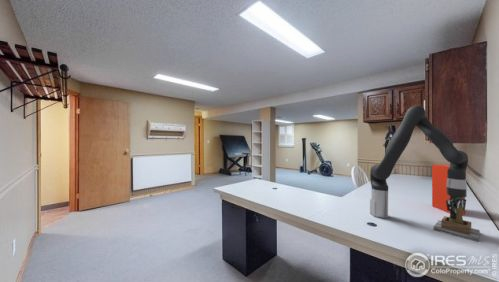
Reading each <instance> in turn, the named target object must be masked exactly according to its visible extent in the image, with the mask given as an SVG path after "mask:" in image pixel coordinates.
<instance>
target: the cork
mask: <svg viewBox="0 0 499 282" xmlns="http://www.w3.org/2000/svg"><path fill="white" fill-rule="evenodd" d="M449 209H450V207H449ZM462 212H463V208H462V207H460V206H459V207H458V209H457V211H456V219H451V218H450V216H448V217H449V222H454V223H458V224H462V225H464V223H463V220H464V219H463V215H462Z"/></svg>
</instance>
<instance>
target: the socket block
mask: <svg viewBox="0 0 499 282" xmlns="http://www.w3.org/2000/svg"><path fill="white" fill-rule="evenodd" d="M449 217H450V216H446V215H445V216H443V217H442V219H441V220H437V222H436V223H435V224H434V226H433V231H436V232H441V233H445V234H448V235H451V236H455V237H460V238H463V239H466V240H471V241H474V242H479V238H480V233H481V231H480V229H478V228H477V229H476V228H473V227H472V221H468V220H464V219H463V223H464V225H462V224H458V223H454V222H449Z"/></svg>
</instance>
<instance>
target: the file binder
mask: <svg viewBox="0 0 499 282" xmlns="http://www.w3.org/2000/svg"><path fill="white" fill-rule="evenodd" d="M449 168H450V165H446V164H432V165H431V197H432V199H431V206H432V208H435V209H438V210H440V211H443V212H445V213H448V214H450V211H448V210H447V205H446V200H450V195H447V171H448V169H449ZM463 199H466V197H463ZM465 215H466V209H465V210H463V212H462V216H465Z"/></svg>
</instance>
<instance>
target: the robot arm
mask: <svg viewBox="0 0 499 282" xmlns="http://www.w3.org/2000/svg"><path fill="white" fill-rule="evenodd" d="M416 127H417V128H418V129H419V130H421V132H422V133H424V135H425V136H426V137H427V139H428V140H430V141H431V143H432V144H433V145H434V146H435V147H436V148H437V149H438V150H439V152H440V154H441V155H442V157H443V158H444V159H445V160H446V161H447V162H448V163H449V166H450V168H449V169H448V171H447V195H450V200H446V205H447V210H448V211H450V213H449V217H450V218H451V219H456V211H457V209H458V207H459V206H460V207H462V208H463V210H465V211H466V204H467V186H468V185H467V172H466V171H467V168H468V163H469V156H468V155H467V153H466V152H465V151H463V150H458V149H457V147H455V146H454V142H453V141H452V140H451V139H450V138H449V137H448V136H447V135H446V133H444V132H443V131H442V130H440V129H439V128H437V127H436V126H435V125H434V124H433V123H432V122H431V121H430V120H429V118H428V117H427V113H426V109H425V108H424V106H423V105H418V104H417V105H412V106H410V107H409V108H408V109H406V112H405V115H404V117H403V119H402V121H401V123H400V125H399V126H398V128H397V129H396V130H395V132H394V133H393V135H392V136H391V138H390V140H389V142H388V143H387V144H386V145H387V146H386V149H385V153H384V156H383V158H382V160H381V161H380V163H379V164H373V166H371V168H370V171H369V175H370V178H369V179H370V185H371V198H370V200H369V214H370V215H371V216H373V217H376V218H382V219H387V218H389V185H388V184H387V179H389V178H390V176H391V175H392V173H393V170H394V168H395V166H396V164H397V162H398V160H399V159H400V157H401V156H402V154H403V153H404V151H405V150H406V148H407V146H408V144H409V143H410V141H411V138H412V136H413V132H414V129H415V128H416ZM463 197H465V199H463ZM449 207H450V209H449Z"/></svg>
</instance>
